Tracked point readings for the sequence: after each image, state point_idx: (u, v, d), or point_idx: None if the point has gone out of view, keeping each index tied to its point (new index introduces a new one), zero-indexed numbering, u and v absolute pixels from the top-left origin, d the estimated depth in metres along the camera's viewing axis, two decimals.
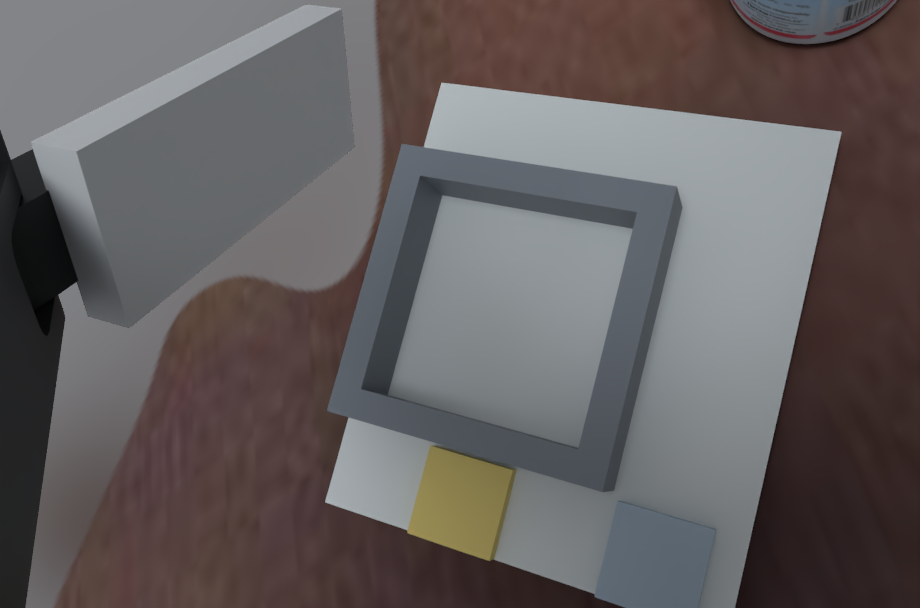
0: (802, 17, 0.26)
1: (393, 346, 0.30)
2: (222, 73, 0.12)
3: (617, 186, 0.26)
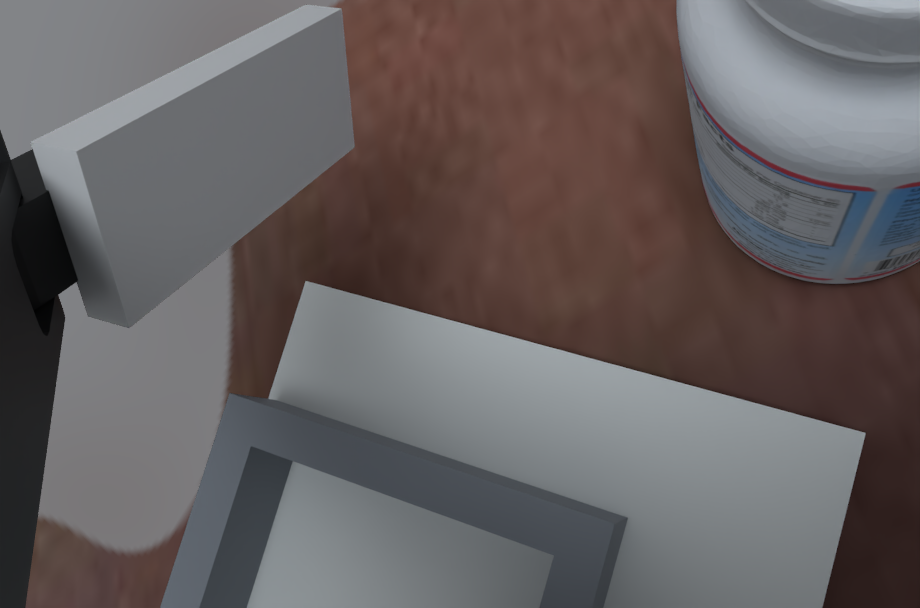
0: (813, 264, 0.17)
1: None
2: (222, 73, 0.12)
3: (527, 509, 0.17)
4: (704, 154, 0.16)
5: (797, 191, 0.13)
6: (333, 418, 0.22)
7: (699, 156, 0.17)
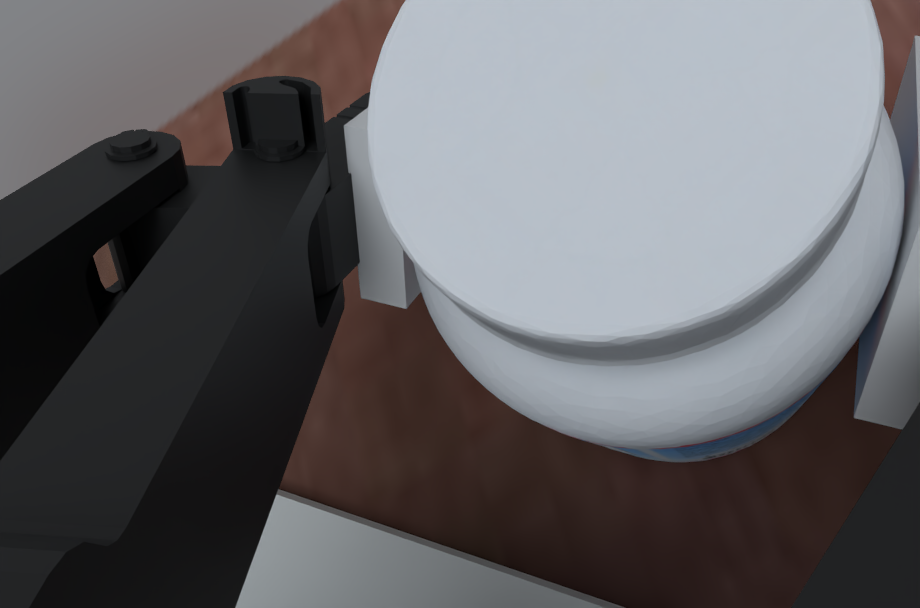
0: None
1: None
2: None
3: None
4: None
5: None
6: None
7: None
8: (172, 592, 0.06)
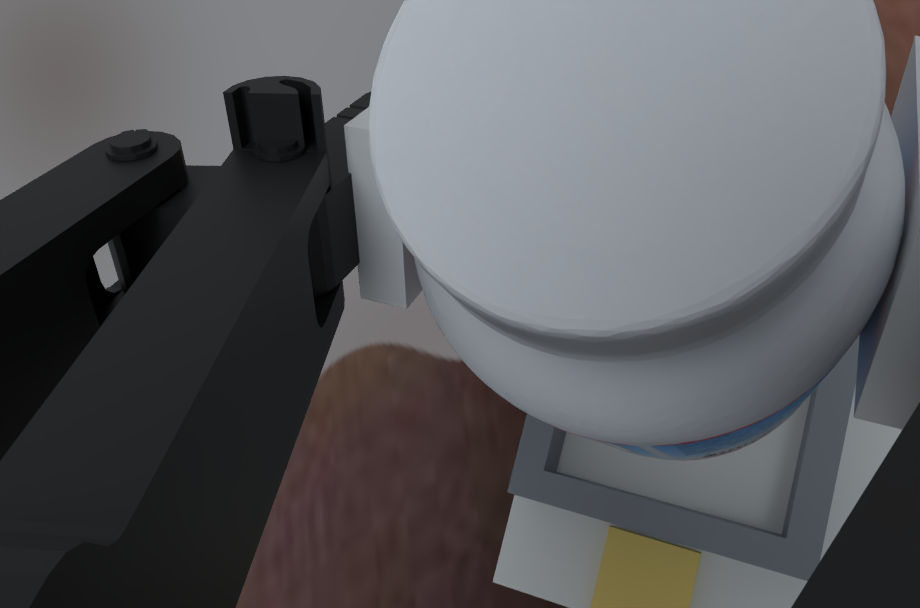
0: None
1: None
2: None
3: None
4: None
5: None
6: None
7: None
8: (172, 592, 0.06)
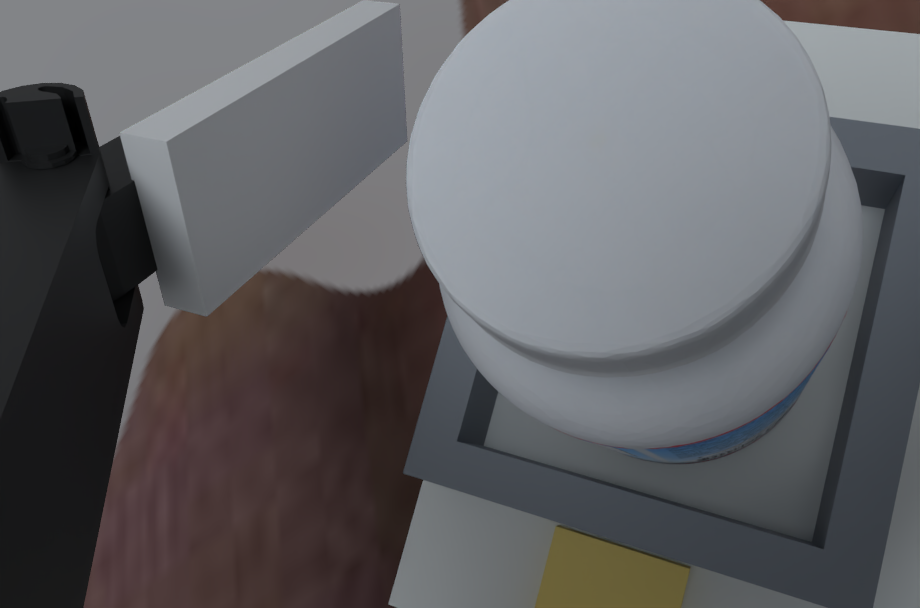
0: (636, 457, 0.17)
1: None
2: (294, 66, 0.13)
3: (870, 135, 0.17)
4: None
5: None
6: None
7: None
8: (20, 581, 0.07)
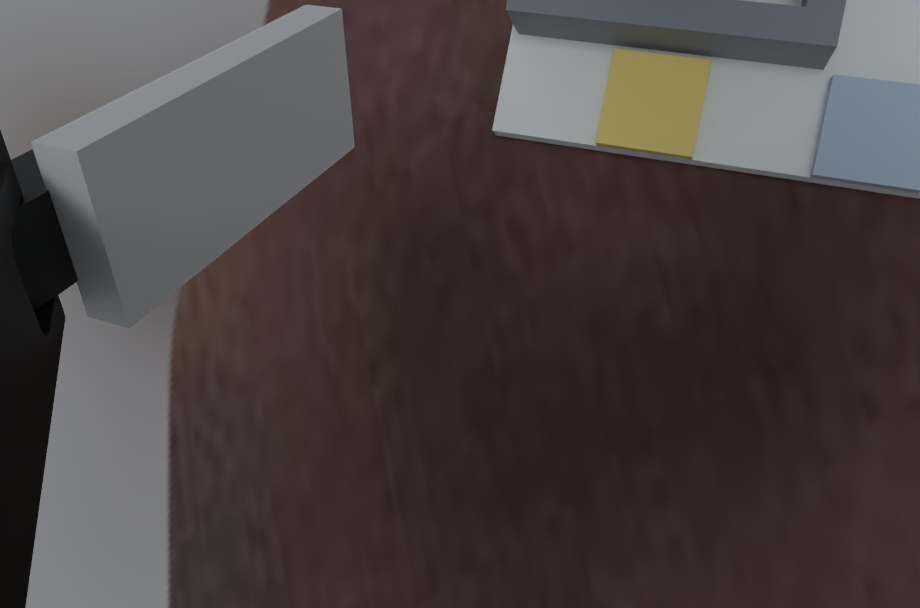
0: None
1: None
2: (222, 73, 0.12)
3: None
4: None
5: None
6: None
7: None
8: None
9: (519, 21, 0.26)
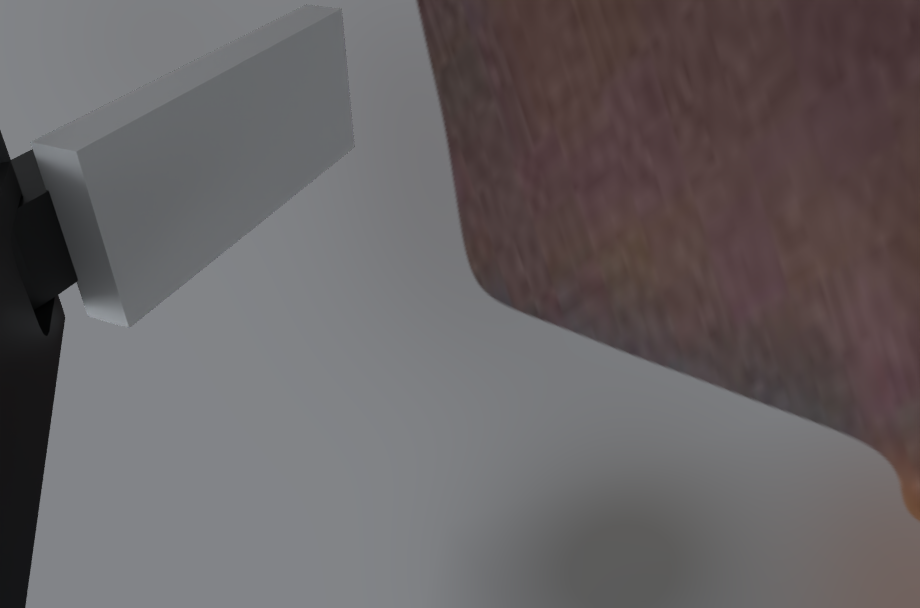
0: None
1: None
2: (222, 73, 0.12)
3: None
4: None
5: None
6: None
7: None
8: None
9: None
